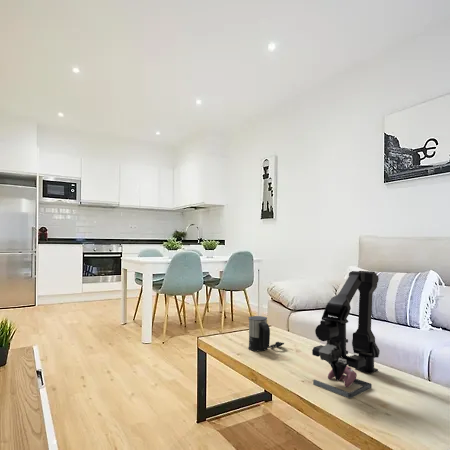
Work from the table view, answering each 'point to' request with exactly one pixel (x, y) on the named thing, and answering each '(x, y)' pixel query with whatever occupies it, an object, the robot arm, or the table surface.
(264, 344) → the milk frother
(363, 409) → the table surface
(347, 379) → the video game controller
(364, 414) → the table surface
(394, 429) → the table surface
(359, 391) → the metal bay
